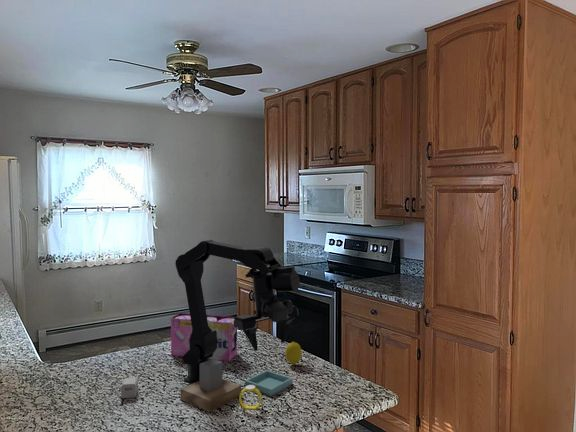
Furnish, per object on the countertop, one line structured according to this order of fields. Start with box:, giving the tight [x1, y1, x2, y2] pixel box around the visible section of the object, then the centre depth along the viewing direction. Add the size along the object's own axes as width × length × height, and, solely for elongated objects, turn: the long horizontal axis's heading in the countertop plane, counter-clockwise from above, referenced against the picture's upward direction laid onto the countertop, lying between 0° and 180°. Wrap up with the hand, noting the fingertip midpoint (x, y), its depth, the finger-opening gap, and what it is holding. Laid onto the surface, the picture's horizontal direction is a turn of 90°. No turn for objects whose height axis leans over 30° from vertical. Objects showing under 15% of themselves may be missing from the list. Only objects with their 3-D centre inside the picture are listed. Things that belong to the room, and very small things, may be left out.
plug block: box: [200, 359, 223, 392], centre depth 128 cm, size 4×5×7 cm
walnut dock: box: [179, 378, 242, 412], centre depth 128 cm, size 12×12×3 cm
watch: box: [238, 385, 263, 410], centre depth 122 cm, size 6×3×6 cm, turn 85°
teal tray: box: [244, 369, 293, 397], centre depth 136 cm, size 10×10×2 cm
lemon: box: [284, 341, 303, 366], centre depth 153 cm, size 6×6×8 cm
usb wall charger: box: [120, 377, 139, 399], centre depth 131 cm, size 4×7×4 cm, turn 11°
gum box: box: [170, 312, 238, 362], centre depth 161 cm, size 24×8×14 cm, turn 75°
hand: (269, 346), depth 129 cm, fingers open, 9 cm apart
